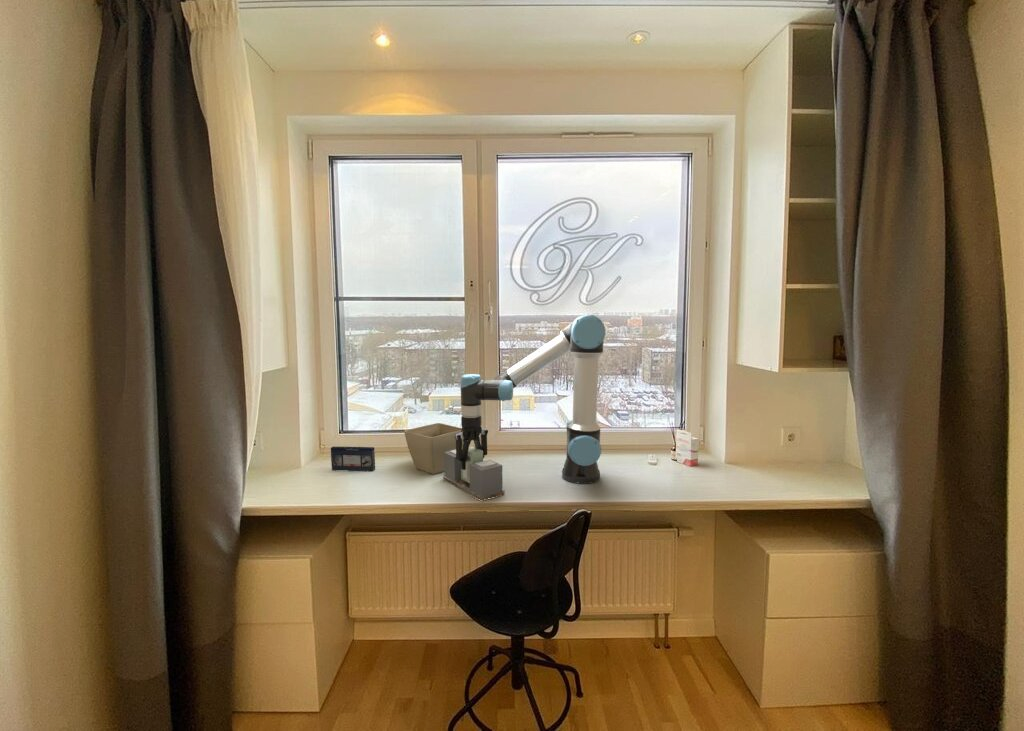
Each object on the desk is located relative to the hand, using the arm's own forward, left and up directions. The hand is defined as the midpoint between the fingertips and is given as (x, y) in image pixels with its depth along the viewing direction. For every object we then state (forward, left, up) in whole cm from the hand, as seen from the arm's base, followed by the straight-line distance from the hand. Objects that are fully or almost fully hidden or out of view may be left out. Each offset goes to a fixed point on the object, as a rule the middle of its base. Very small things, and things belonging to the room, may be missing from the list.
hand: (472, 475), depth 171 cm
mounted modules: (0, 0, -3) cm, 3 cm away
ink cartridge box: (-89, +34, -4) cm, 95 cm away
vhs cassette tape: (+30, -47, -5) cm, 56 cm away
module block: (0, 0, -2) cm, 2 cm away
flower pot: (+1, -28, -4) cm, 28 cm away
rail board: (0, 0, -4) cm, 4 cm away
